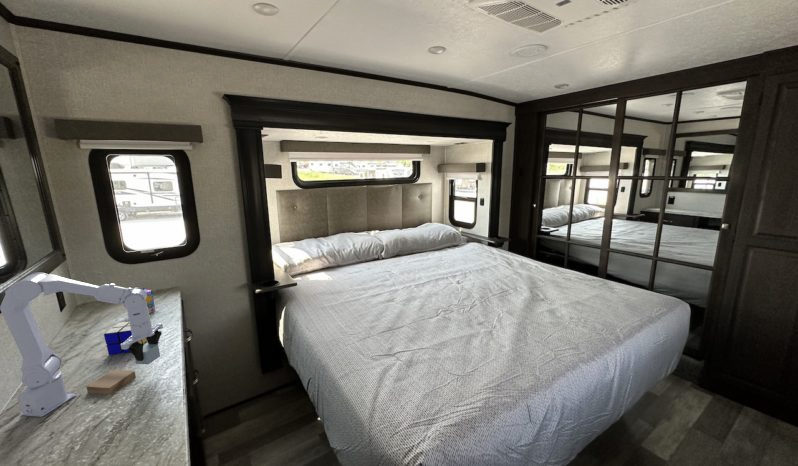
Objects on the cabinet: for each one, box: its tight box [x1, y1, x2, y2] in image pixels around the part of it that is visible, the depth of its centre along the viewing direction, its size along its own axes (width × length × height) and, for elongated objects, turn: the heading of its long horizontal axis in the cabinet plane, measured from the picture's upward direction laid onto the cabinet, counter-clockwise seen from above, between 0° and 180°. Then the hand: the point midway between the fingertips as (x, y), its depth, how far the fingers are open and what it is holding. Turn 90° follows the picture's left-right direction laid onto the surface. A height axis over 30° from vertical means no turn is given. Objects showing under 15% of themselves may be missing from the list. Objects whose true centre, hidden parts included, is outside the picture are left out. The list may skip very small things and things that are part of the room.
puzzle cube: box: [103, 321, 148, 356], centre depth 132 cm, size 10×10×10 cm
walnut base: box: [86, 369, 136, 396], centre depth 109 cm, size 9×9×3 cm
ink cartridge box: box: [142, 287, 156, 314], centre depth 162 cm, size 10×6×14 cm, turn 163°
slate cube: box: [134, 343, 161, 366], centre depth 113 cm, size 5×5×5 cm
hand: (147, 355), depth 113 cm, fingers closed on slate cube, 5 cm apart
